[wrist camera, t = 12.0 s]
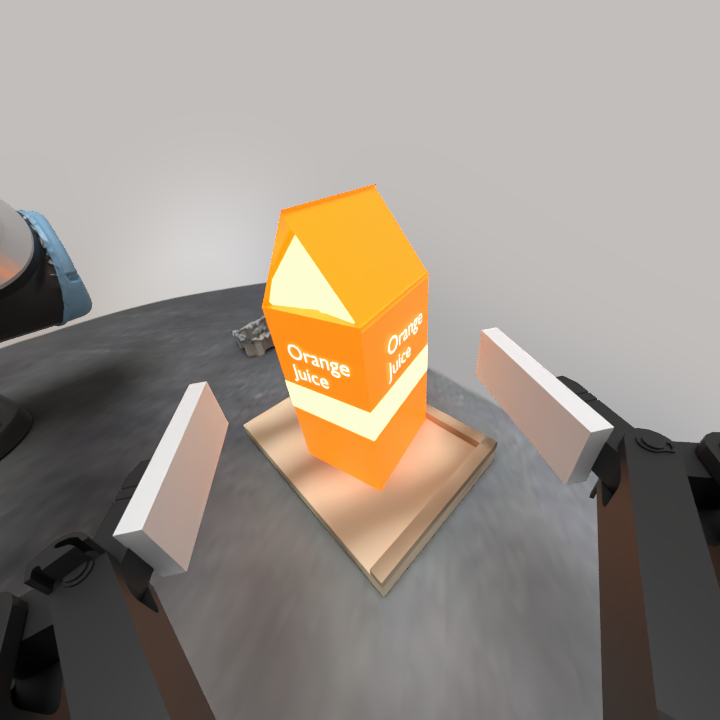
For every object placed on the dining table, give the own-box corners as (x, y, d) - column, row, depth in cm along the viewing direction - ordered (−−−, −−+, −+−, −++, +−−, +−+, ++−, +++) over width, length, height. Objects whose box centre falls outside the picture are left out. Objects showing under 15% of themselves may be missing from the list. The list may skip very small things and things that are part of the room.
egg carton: (293, 321, 54) (287, 300, 52) (312, 336, 49) (307, 313, 46) (235, 343, 49) (226, 321, 47) (249, 362, 44) (240, 338, 42)
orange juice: (427, 418, 29) (432, 179, 18) (381, 493, 23) (346, 209, 12) (360, 394, 33) (329, 187, 21) (307, 453, 27) (227, 211, 16)
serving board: (247, 434, 32) (240, 419, 31) (346, 372, 39) (343, 358, 38) (384, 597, 19) (381, 583, 18) (493, 459, 26) (497, 442, 25)
